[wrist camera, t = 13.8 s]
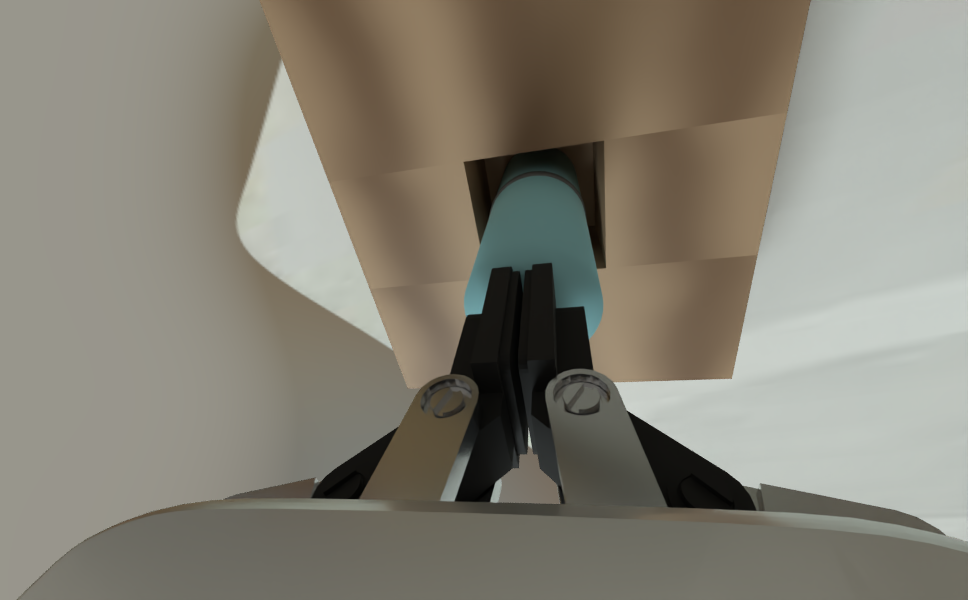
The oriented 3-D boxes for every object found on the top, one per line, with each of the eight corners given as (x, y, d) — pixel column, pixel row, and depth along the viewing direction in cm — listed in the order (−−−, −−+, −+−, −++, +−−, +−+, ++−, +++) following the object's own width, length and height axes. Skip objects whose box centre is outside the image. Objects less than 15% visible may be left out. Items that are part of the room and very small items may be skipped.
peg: (575, 138, 20) (604, 236, 10) (579, 215, 22) (606, 359, 12) (495, 150, 21) (448, 252, 11) (507, 223, 23) (476, 365, 13)
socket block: (750, -116, 15) (850, -191, 10) (695, 312, 26) (731, 378, 21) (329, -6, 19) (251, -22, 14) (431, 329, 29) (407, 388, 24)
